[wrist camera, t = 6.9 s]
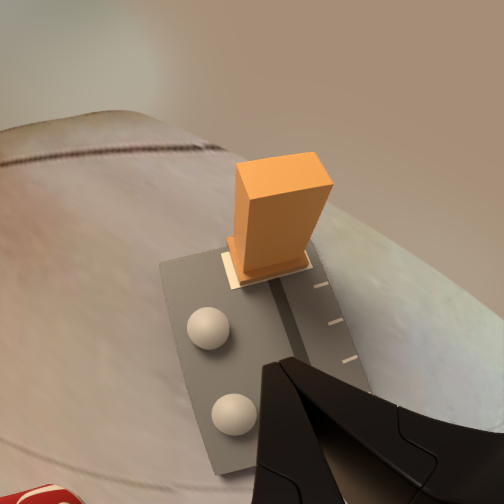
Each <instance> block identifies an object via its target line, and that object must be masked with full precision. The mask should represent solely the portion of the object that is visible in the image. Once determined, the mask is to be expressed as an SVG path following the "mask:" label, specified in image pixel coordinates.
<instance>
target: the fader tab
mask: <svg viewBox="0 0 504 504" xmlns="http://www.w3.org/2000/svg"><path fill="white" fill-rule="evenodd" d="M332 186H333V182H332V181H331V179H330V177H329V176H328V174H327V172H326V170H325V169H324V167H323V165H322V164H321V162H320V160H319V159H318V157H317V155H316V154H315V152H308V153H300V154H293V155H286V156H279V157H272V158H266V159H260V160H254V161H248V162H242V163H236V179H235V213H234V236H231V237H227V238H226V243H227V247H228V250H229V253H230V256H231V260H232V263H233V266H234V269H235V273H236V276H237V279H238V282H239V285H240V286H241V285H245V284H249V283H253V282H256V281H260V280H264V279H268V278H272V277H275V276H279V275H283V274H286V273H290V272H294V271H297V270H301V269H305V268H307V267H308V265H309V261H308V259H307V257H306V254H305V252H304V250H305V248H306V246H307V244H308V242H309V239H310V237H311V235H312V233H313V230H314V228H315V226H316V224H317V221H318V219H319V217H320V214H321V212H322V210H323V208H324V205H325V203H326V200H327V198H328V196H329V193H330V191H331V189H332Z"/></svg>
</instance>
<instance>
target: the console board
mask: <svg viewBox="0 0 504 504" xmlns="http://www.w3.org/2000/svg"><path fill="white" fill-rule="evenodd" d="M304 252H305V254H306V257H307V259H308V261H309V265H308V267H307V268H305V269H301V270H297V271H294V272H290V273H286V274H283V275H279V276H275V277H272V278H268V279H264V280H260V281H256V282H253V283H249V284H245V285H241V286H240V285H239V282H238V279H237V276H236V273H235V269H234V266H233V263H232V260H231V256H230V253H229V250H228V247H223V248H219V249H215V250H210V251H206V252H202V253H198V254H194V255H190V256H186V257H181V258H177V259H173V260H169V261H165V262H161V263H159V268H160V274H161V279H162V284H163V290H164V295H165V299H166V304H167V309H168V314H169V318H170V323H171V327H172V331H173V336H174V340H175V344H176V348H177V352H178V356H179V360H180V364H181V368H182V372H183V375H184V379H185V383H186V386H187V390H188V393H189V397H190V400H191V404H192V407H193V410H194V414H195V417H196V420H197V423H198V426H199V430H200V433H201V436H202V439H203V442H204V445H205V448H206V451H207V453H208V456H209V459H210V462H211V465H212V468H213V470H214V473H215V476H216V475H221V474H225V473H230V472H234V471H238V470H242V469H245V468H249V467H253V466H256V455H257V440H258V425H259V409H260V392H261V374H262V366H263V365H265V364H268V363H272V362H278V361H279V360H281V359H284V358H287V357H291V356H292V357H295V358H297V359H299V360H301V361H303V362H305V363H307V364H309V365H311V366H313V367H315V368H317V369H319V370H321V371H323V372H325V373H327V374H329V375H332V376H334V377H336V378H338V379H340V380H342V381H344V382H346V383H348V384H351V385H353V386H355V387H357V388H359V389H361V390H364V391H366V392H368V393H370V394H372V393H371V390H370V387H369V385H368V382H367V379H366V376H365V373H364V371H363V368H362V365H361V362H360V360H359V357H358V354H357V352H356V349H355V346H354V344H353V341H352V338H351V336H350V333H349V331H348V328H347V326H346V323H345V320H344V318H343V315H342V313H341V310H340V308H339V305H338V303H337V301H336V298H335V296H334V293H333V291H332V288H331V286H330V284H329V281H328V279H327V276H326V274H325V272H324V269H323V267H322V265H321V262H320V260H319V258H318V255H317V253H316V251H315V249H314V246H313V244H312V242H311V240H310V239H309V242H308V244H307V246H306V248H305V250H304Z"/></svg>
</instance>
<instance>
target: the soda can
mask: <svg viewBox="0 0 504 504" xmlns="http://www.w3.org/2000/svg"><path fill="white" fill-rule="evenodd" d="M0 504H84V502H83V501H82V500H81V499H80V498H79V497H78V496H77V495H76V494H75V493H73V492H72V491H70V490H69V489H67V488H64V487H62V486H59V485H55V484H47V485H44V486H41V487H37V488H34V489H31V490H27V491H24V492H20V493H16V494H12V495H8V496H4V497H0Z"/></svg>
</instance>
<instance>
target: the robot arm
mask: <svg viewBox="0 0 504 504" xmlns="http://www.w3.org/2000/svg"><path fill="white" fill-rule="evenodd" d="M342 496H343V497H342ZM343 498H344V499H345V501H346V502H347V504H504V433H495V432H488V431H483V430H478V429H473V428H469V427H464V426H460V425H455V424H451V423H447V422H444V421H440V420H437V419H433V418H430V417H427V416H424V415H421V414H419V413H416V412H413V411H411V410H408V409H406V408H403V407H401V406H398V407H397V405H396V404H393V403H391V402H389V401H386V400H384V399H382V398H379V397H377V396H375V395H373V394H370V393H368V392H366V391H364V390H361V389H359V388H357V387H355V386H353V385H351V384H348V383H346V382H344V381H342V380H340V379H338V378H336V377H334V376H332V375H329V374H327V373H325V372H323V371H321V370H319V369H317V368H315V367H313V366H311V365H309V364H307V363H305V362H303V361H301V360H299V359H297V358H295V357H292V356H291V357H287V358H284V359H281V360H279V361H278V362H272V363H268V364H265V365H263V366H262V374H261V392H260V409H259V425H258V440H257V455H256V467H255V480H254V489H253V497H252V502H251V504H345V502H344V499H343Z"/></svg>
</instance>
